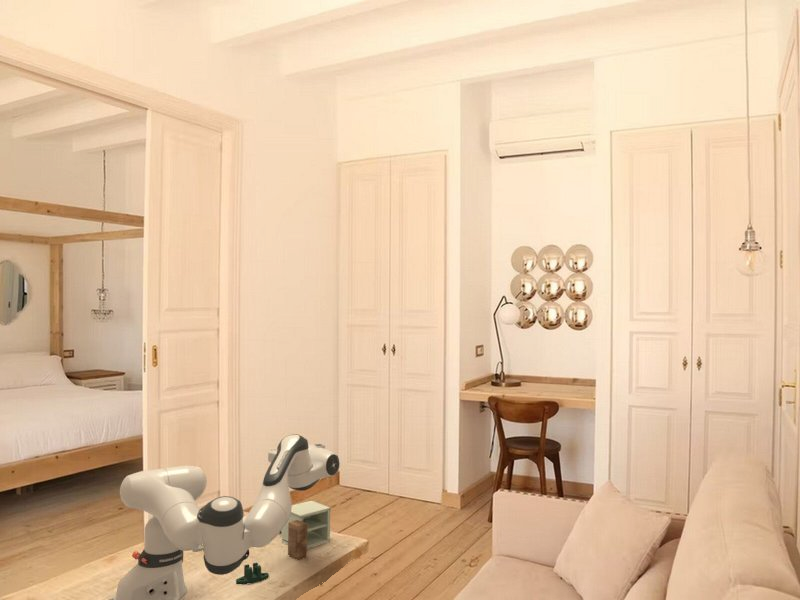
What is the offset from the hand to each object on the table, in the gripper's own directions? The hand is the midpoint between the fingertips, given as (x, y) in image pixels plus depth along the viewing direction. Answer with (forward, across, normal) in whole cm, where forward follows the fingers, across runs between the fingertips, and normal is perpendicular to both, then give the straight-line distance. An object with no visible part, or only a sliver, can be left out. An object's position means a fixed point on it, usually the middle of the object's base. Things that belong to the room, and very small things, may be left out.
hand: (283, 450), depth 237 cm
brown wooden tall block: (-8, +2, -37) cm, 38 cm away
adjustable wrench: (+21, -11, -38) cm, 44 cm away
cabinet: (+2, +12, -37) cm, 39 cm away
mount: (-14, -21, -38) cm, 45 cm away
